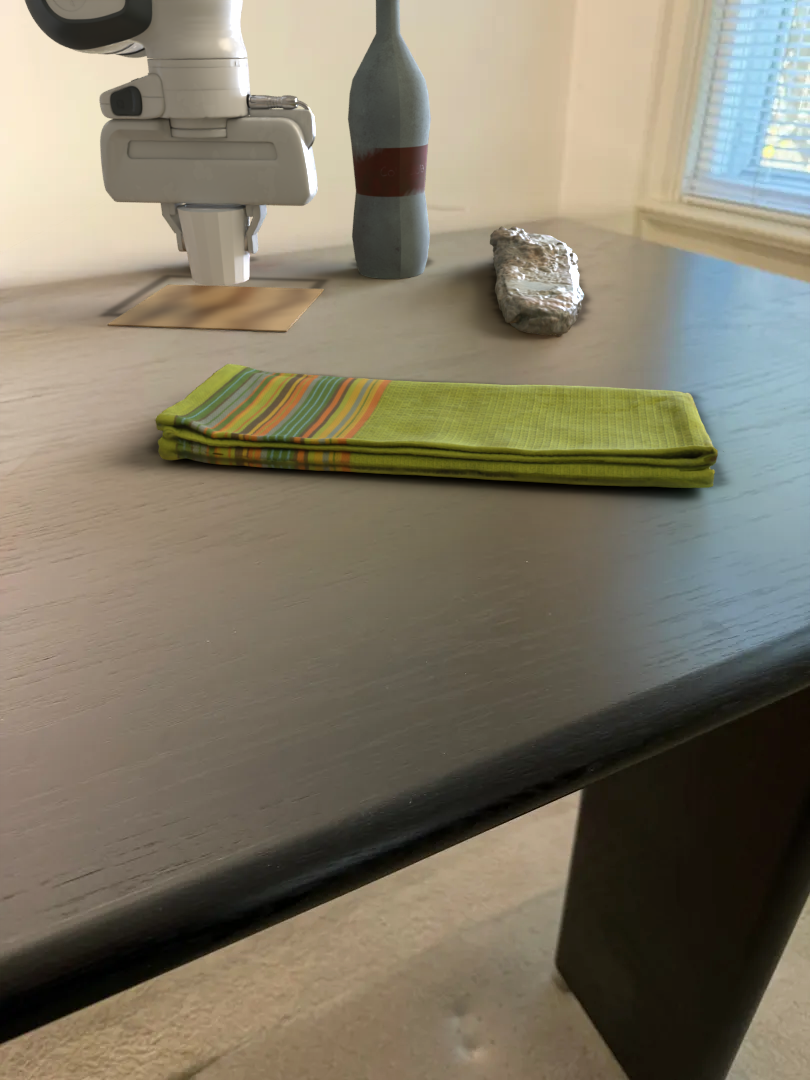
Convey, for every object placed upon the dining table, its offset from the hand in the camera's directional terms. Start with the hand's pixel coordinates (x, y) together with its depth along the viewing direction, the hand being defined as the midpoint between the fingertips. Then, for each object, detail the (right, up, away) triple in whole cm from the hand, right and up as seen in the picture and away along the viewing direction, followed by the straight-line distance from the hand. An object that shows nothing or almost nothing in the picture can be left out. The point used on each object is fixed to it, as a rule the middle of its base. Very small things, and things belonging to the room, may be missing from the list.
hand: (218, 251), depth 87 cm
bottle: (+17, +4, +19) cm, 25 cm away
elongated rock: (+32, -2, +10) cm, 34 cm away
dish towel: (+21, -21, -25) cm, 39 cm away
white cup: (0, -2, +1) cm, 3 cm away
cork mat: (-1, -4, +5) cm, 7 cm away
